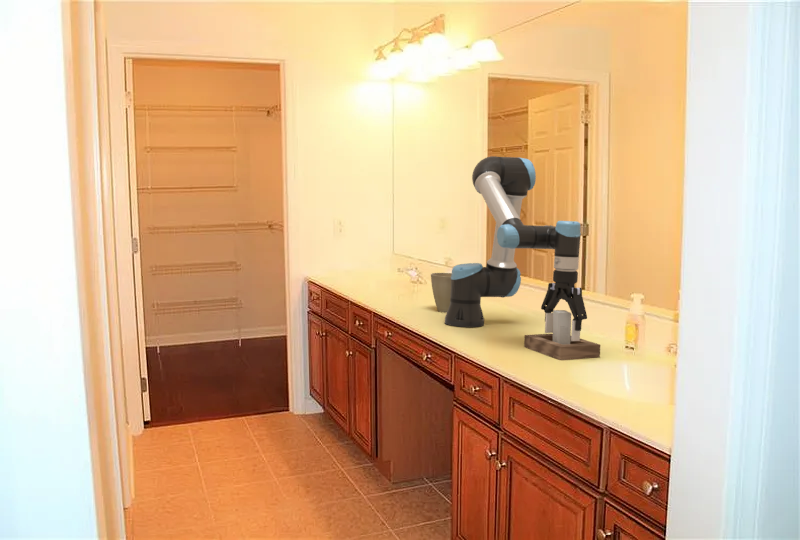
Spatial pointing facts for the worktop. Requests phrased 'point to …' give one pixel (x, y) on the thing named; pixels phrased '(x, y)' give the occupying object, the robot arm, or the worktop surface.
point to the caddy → (561, 347)
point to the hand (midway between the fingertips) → (561, 336)
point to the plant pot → (441, 290)
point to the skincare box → (561, 326)
